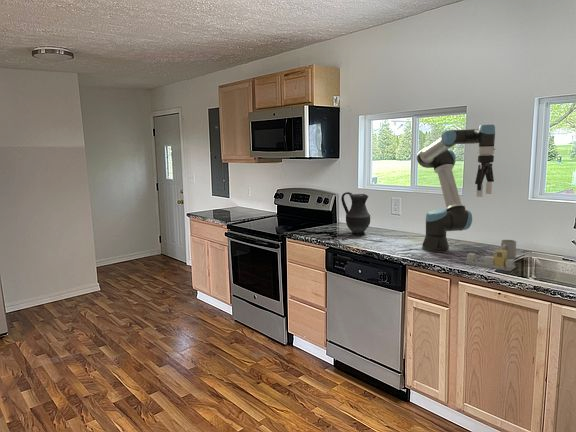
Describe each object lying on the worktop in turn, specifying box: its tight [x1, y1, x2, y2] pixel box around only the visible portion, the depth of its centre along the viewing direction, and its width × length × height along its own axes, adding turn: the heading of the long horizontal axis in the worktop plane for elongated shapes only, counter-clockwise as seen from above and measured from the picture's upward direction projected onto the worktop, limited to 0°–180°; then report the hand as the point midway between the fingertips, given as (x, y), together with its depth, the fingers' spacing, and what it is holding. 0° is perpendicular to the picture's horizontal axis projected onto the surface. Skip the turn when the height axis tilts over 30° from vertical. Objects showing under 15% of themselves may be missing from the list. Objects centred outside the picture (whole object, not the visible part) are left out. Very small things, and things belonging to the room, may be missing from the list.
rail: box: [464, 252, 517, 272], centre depth 216 cm, size 22×9×5 cm, turn 47°
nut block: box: [494, 248, 507, 266], centre depth 212 cm, size 4×4×8 cm
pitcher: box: [340, 191, 371, 237], centre depth 296 cm, size 17×21×30 cm
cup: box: [500, 239, 517, 259], centre depth 228 cm, size 7×10×9 cm
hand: (484, 195), depth 223 cm, fingers open, 13 cm apart
